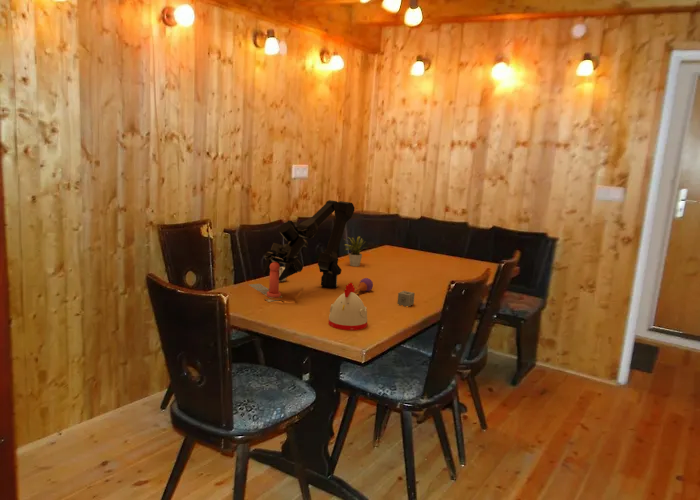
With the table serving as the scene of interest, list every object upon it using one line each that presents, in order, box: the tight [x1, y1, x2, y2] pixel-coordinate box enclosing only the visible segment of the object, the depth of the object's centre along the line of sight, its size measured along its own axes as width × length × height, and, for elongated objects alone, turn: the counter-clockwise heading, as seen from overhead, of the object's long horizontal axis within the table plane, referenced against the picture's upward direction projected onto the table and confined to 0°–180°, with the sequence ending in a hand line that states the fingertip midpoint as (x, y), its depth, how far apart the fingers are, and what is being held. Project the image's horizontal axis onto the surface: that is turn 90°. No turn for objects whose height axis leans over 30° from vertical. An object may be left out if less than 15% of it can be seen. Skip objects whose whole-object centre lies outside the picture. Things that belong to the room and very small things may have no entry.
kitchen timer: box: [328, 282, 368, 331], centre depth 201 cm, size 14×14×15 cm
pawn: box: [266, 262, 282, 299], centre depth 229 cm, size 6×6×14 cm
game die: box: [279, 265, 288, 283], centre depth 256 cm, size 9×8×10 cm
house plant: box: [343, 235, 368, 267], centre depth 304 cm, size 14×14×16 cm
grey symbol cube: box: [397, 290, 416, 308], centre depth 232 cm, size 5×5×5 cm
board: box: [248, 283, 283, 303], centre depth 238 cm, size 27×9×1 cm, turn 32°
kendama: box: [354, 277, 374, 295], centre depth 245 cm, size 6×6×20 cm
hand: (271, 277), depth 228 cm, fingers open, 9 cm apart
